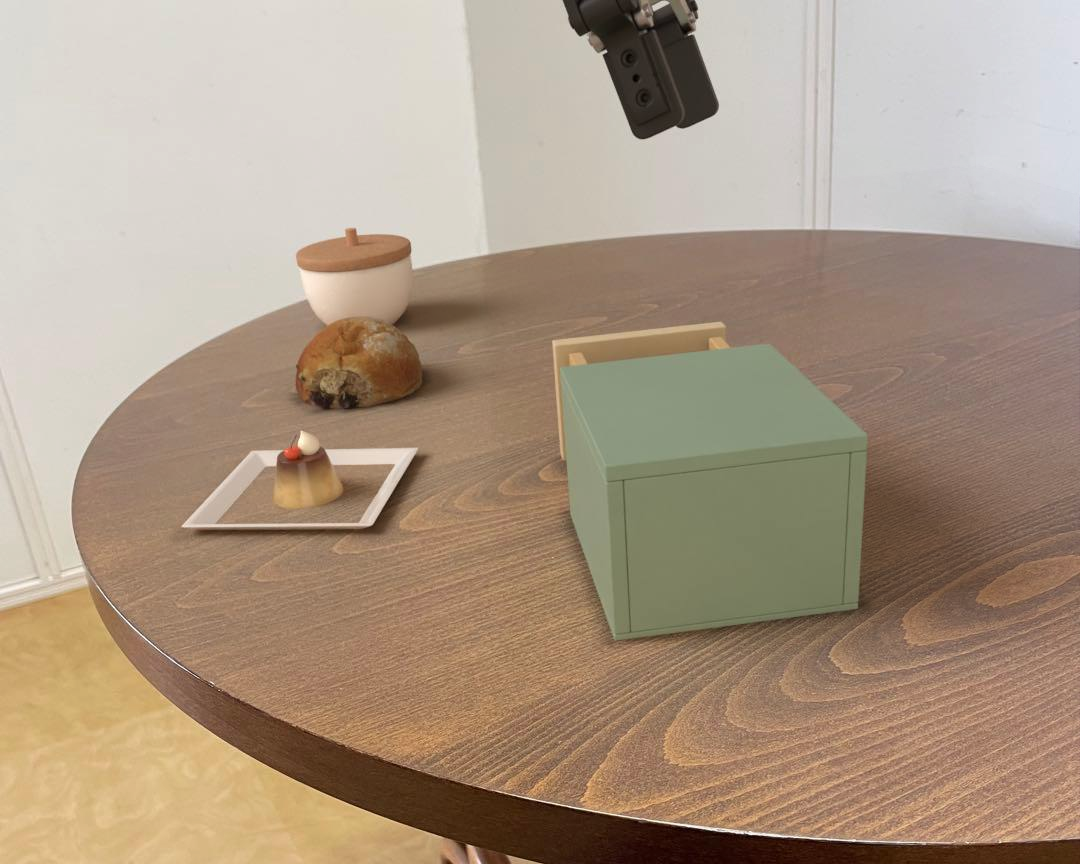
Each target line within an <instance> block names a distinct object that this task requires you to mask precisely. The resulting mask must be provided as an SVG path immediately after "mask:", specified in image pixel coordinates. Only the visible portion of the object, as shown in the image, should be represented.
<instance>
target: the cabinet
mask: <svg viewBox="0 0 1080 864" xmlns="http://www.w3.org/2000/svg"><path fill="white" fill-rule="evenodd" d="M560 378H561V391H562V405H563V419H564V433H565V447H566V475H567V487H568V488H567V489H568V501H569V515H570V517H571V520H572V523H573V526H574V529H575V532H576V534H577V537H578V538H577V539H578V540H579V543H580V546H581V550H582V551H583V554H584V557H585V560H586V564H587V567H588V569H589V572H590V574H591V577H592V580H593V584H594V586H595V589H596V591H597V595H598V597H599V600H600V604H601V606H602V609H603V612H604V615H605V618H606V620H607V623H608V626H609V628H610V629H609V630H610V632H611V635H612V638H613V640H614V641H623V640H631V639H639V638H645V637H653V636H661V635H667V634H669V635H670V634H677V633H685V632H692V631H699V630H707V629H712V628H721V627H729V626H736V625H743V624H744V625H745V624H750V623H751V624H753V623H759V622H766V621H775V620H781V619H782V620H783V619H789V618H797V617H804V616H811V615H812V616H813V615H819V614H827V613H828V614H829V613H834V612H842V611H851V610H857V609H859V599H860V597H859V596H860V581H861V563H862V545H863V531H864V530H863V528H864V511H865V493H866V475H867V461H868V451H867V450H868V443H869V434H868V433H867V432H866V431H865V430H864V429H862V428H861V426H859V424H857V423H856V422H855V421H854V420H853V419H852V418H851V417H850V416H849V415H847V414H846V413H845V411H843V409H841V408H840V407H839V406H838V405H837V404H835V403H834V401H833V400H831V399H830V398H829V397H828V396H827V395H826V394H825V393H824V392H823V390H821V389H820V388H818V387H817V385H815V384H814V382H812V381H811V380H810V379H809V378H808V377H807V376H806V375H804V373H803V372H802V371H801V370H800V369H798V368H797V367H796V366H795V365H794V364H793V363H792V362H790V360H789V359H787V358H786V357H785V356H784V355H783V354H782V353H781V352H780V351H779V350H778V349H777V348H776V347H775V346H773V344H771V343H769V342H768V343H759V344H753V345H751V344H750V345H744V346H743V345H742V346H735V347H731V348H725V349H716V350H707V351H698V352H689V353H681V354H672V355H663V356H654V357H645V358H636V359H628V360H619V361H610V362H601V363H592V364H583V365H574V366H566V367H560Z"/></svg>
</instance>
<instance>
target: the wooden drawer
mask: <svg viewBox="0 0 1080 864" xmlns="http://www.w3.org/2000/svg"><path fill="white" fill-rule="evenodd" d="M551 345H552V357H553V358H552V359H553V371H554V373H553V374H554V384H555V397H556V398H555V399H556V411H557V426H558V441H559V452H560V456H561V459H562V461H563V462H565V461H566V447H565V433H564V419H563V405H562V391H561V378H560V367H566V366H574V365H583V364H592V363H601V362H610V361H619V360H628V359H636V358H645V357H654V356H663V355H672V354H681V353H689V352H698V351H707V350H716V349H725V348H732V346H731V345H730V344H728V342H727V325H726V324H725V323H723V321H716V322H715V321H714V322H713V321H712V322H705V323H695V324H686V325H677V326H669V327H659V328H651V329H642V330H633V331H625V332H615V333H604V334H598V335H596V334H595V335H588V336H579V337H570V338H569V337H568V338H560V339H553V340H552V341H551ZM566 462H567V461H566Z"/></svg>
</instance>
